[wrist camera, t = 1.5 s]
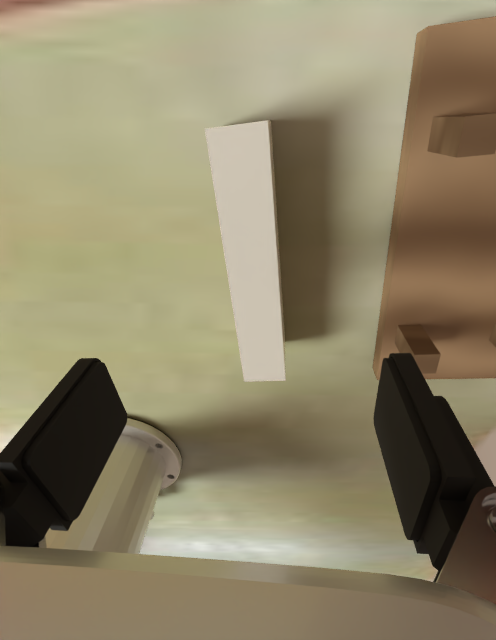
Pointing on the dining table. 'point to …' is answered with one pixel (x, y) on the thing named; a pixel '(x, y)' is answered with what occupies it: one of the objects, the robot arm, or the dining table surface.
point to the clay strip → (250, 242)
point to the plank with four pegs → (445, 210)
